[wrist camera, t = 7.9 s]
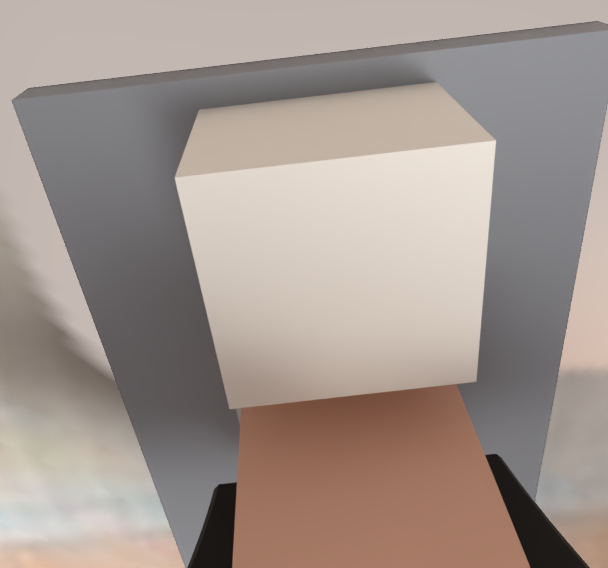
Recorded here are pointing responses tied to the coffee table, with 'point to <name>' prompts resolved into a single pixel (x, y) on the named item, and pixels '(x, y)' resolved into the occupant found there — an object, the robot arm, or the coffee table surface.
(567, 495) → the coffee table surface
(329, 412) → the terracotta block
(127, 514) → the coffee table surface
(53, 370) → the coffee table surface
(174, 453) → the block set board
